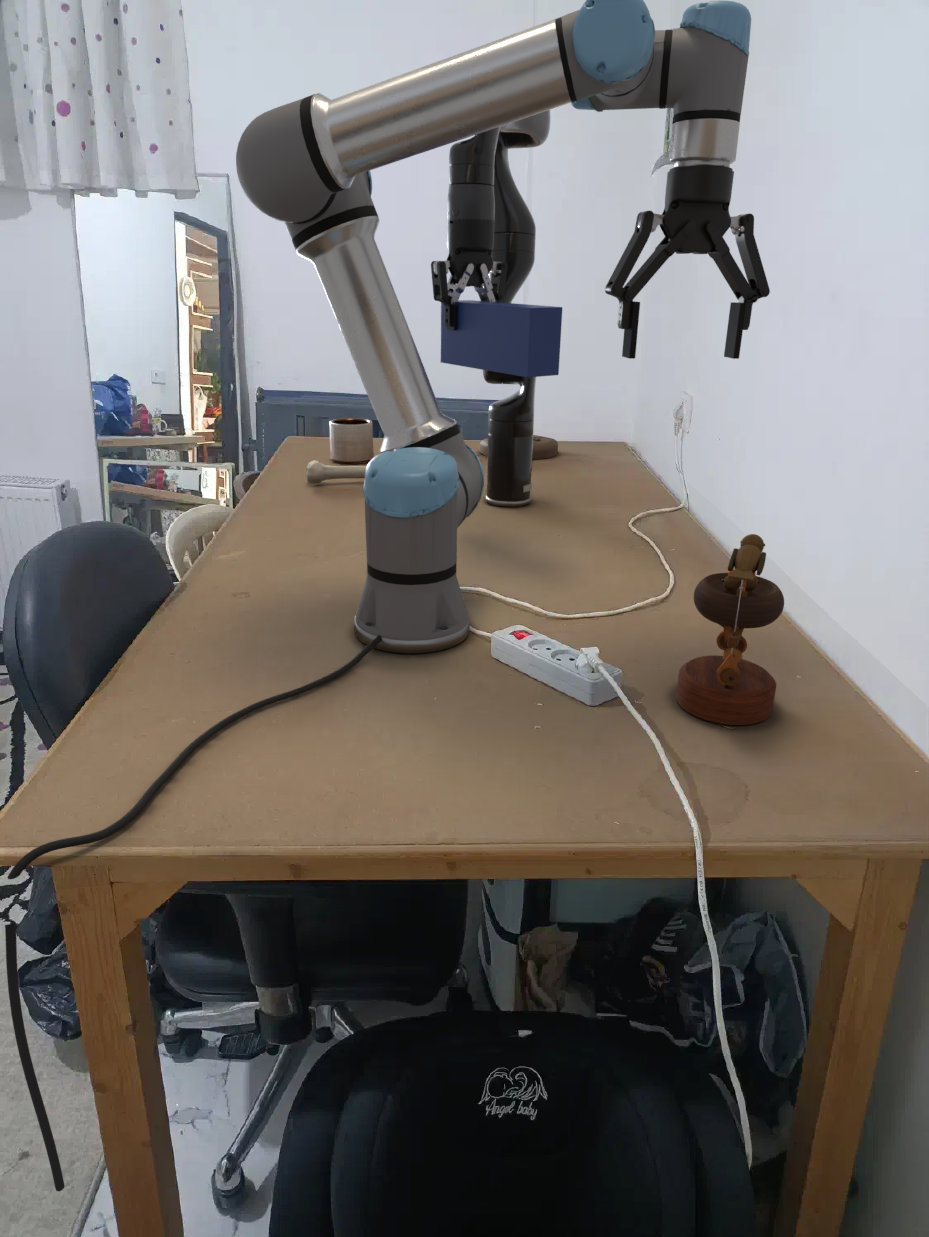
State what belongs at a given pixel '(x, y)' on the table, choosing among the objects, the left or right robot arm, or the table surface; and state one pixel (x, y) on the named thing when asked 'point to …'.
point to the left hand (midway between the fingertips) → (680, 358)
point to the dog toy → (332, 472)
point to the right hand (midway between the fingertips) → (468, 329)
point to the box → (504, 338)
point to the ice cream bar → (541, 447)
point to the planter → (351, 440)
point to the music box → (733, 642)
